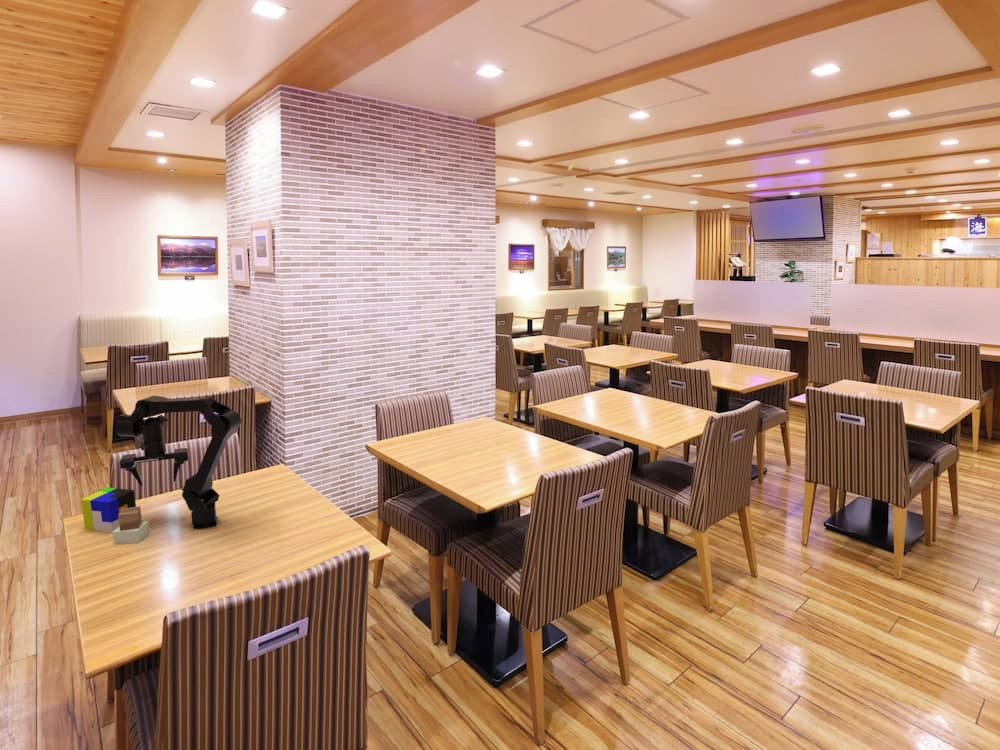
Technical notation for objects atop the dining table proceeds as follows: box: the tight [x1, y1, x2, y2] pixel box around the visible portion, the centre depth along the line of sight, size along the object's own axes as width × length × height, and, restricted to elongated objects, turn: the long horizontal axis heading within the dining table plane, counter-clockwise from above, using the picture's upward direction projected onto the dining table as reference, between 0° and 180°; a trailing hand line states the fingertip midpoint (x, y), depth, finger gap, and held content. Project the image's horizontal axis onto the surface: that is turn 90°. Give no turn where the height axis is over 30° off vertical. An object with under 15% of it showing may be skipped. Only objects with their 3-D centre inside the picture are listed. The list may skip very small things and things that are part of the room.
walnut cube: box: [118, 505, 143, 531], centre depth 184 cm, size 5×5×5 cm
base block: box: [112, 520, 151, 545], centre depth 185 cm, size 7×7×4 cm
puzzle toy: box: [80, 487, 137, 533], centre depth 193 cm, size 10×10×10 cm
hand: (158, 483), depth 194 cm, fingers open, 9 cm apart
